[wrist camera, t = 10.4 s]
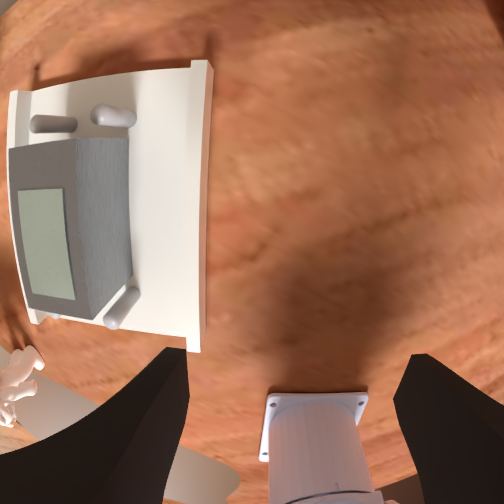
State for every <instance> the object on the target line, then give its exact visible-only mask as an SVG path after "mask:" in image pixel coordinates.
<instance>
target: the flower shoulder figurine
mask: <svg viewBox="0 0 504 504" xmlns="http://www.w3.org/2000/svg"><path fill="white" fill-rule="evenodd" d="M44 366H45V363H44V361H43V359H42V357H41V356H40V354H39V353H38V352H37V350H36V349H35V348H34V347H33V346H30V345H29V346H27V347H26V348H25V349H24V350H23V351H21V350H20V349H16V350H15V351H14V352H13V353H12V355H11V357H10V360H9V363H8V366H7V367H5V368H4V369H2V370H0V425H3V426H8V427H13V425H11V424H8V423H11V421H12V420H14V421H16V419H17V416H16V415H15V404H14V402H12V401H15V400H18V399H20V398H21V397H24V396H33V395H35V394H36V392H37V382H35V380H34V379H33V380H31V381H29V382H23V381H24V380H25V379H26V378H27V377H28V376H29V375H30V374H31V371H32V369H33V367H35V368H37V369H38V370H41V369H43V367H44ZM8 404H9V405H10V406H11V407H12V409H13V415H11V413H10V411H9V410H8V409H7V408H6V406H7V405H8ZM13 418H14V419H13Z"/></svg>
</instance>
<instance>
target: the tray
mask: <svg viewBox="0 0 504 504" xmlns="http://www.w3.org/2000/svg"><path fill="white" fill-rule="evenodd" d="M213 80H214V70H213V68H212V66H211V65H210V63H209V61H208V60H191V68H174V69H159V70H147V71H137V72H129V73H121V74H114V75H107V76H100V77H94V78H89V79H83V80H78V81H73V82H69V83H64V84H59V85H55V86H51V87H47V88H43V89H39V90H35V91H26V90H15V91H12V92H10V99H9V110H8V126H7V185H8V200H9V212H10V221H11V230H12V237H13V244H14V251H15V257H16V262H17V268H18V273H19V278H20V282H21V287H22V291H23V296H24V300H25V304H26V308H27V311H28V315H29V319H30V322H31V323H33V324H37V325H39V324H40V323H41V322H42V321H43V320H44V319H45V318H46V317H47V316H48V315H50V316H51V317H52V318H54V319H58V318H59V317H60V318H65V319H70V320H75V321H80V322H86V323H91V324H97V325H103V326H106V327H107V328H109V329H111V330H116V329H117V328H121V329H128V330H134V331H142V332H149V333H156V334H164V335H173V336H181V337H186V340H187V351H189V352H198V353H200V352H201V348H202V344H203V341H204V337H205V334H206V219H207V187H208V162H209V142H210V124H211V108H212V94H213ZM73 138H118V139H129V214H130V235H131V251H132V264H133V276H132V277H131V278H130V279H129V280H128V281H127V282H126V283H125V284H124V286H123V287H122V288H121V289H120V290H119V291H118V292H117V293H116V294H115V296H114V297H113V298H112V299H111V300H110V301H109V302H108V303H107V305H106V306H105V307H104V308H103V309H102V310H101V311H100V312H99V314H98V315H97V316H96V317H95V318H94V319H93V320H87V319H82V318H76V317H71V316H65V315H60V314H55V313H50V312H45V311H40V310H36V309H31V308H29V307H28V303H27V299H26V295H25V291H24V287H23V282H22V277H21V273H20V267H19V262H18V257H17V251H16V244H15V238H14V230H13V222H12V213H11V202H10V188H9V155H8V152H9V148H14V147H19V146H25V145H31V144H37V143H44V142H50V141H58V140H65V139H73Z"/></svg>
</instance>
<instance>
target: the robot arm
mask: <svg viewBox="0 0 504 504" xmlns="http://www.w3.org/2000/svg"><path fill="white" fill-rule="evenodd" d="M189 398H190V394H189V383H188V370H187V357H186V349H179V348H171V347H166V348H165V349H163V350H162V351H161V352H160V353H159V354H158V355H157V356H156V357H155V358H154V359H153V360H152V361H151V362H150V363H149V364H148V365H147V366H146V367H145V368H144V369H143V370H142V371H141V372H140V373H139V374H138V375H137V376H136V377H134V378H133V379H132V380H131V381H130V382H129V383H128V384H127V385H126V386H125V387H123V388H122V389H121V390H120V391H119V392H117V393H116V394H115V395H114V396H112V397H111V398H110V399H109V400H107V401H106V402H105V403H104V404H102V405H101V406H100V407H98V408H97V409H96V410H94V411H93V412H91V413H90V414H88V415H87V416H85V417H84V418H82V419H81V420H79V421H78V422H76V423H74V424H73V425H71V426H69V427H67V428H66V429H63V430H62V431H60V432H58V433H56V434H54V435H52V436H50V437H48V438H46V439H44V440H41V441H39V442H36V443H34V444H31V445H29V446H26V447H24V448H21V449H18V450H15V451H12V452H8V453H5V454H1V455H0V504H162V501H163V496H164V490H165V486H166V482H167V479H168V475H169V472H170V469H171V466H172V463H173V460H174V456H175V453H176V450H177V447H178V444H179V441H180V437H181V434H182V431H183V428H184V425H185V420H186V415H187V409H188V403H189ZM368 399H369V396H368V394H367V393H366V392H352V393H321V394H292V393H271V394H269V395H268V397H267V402H266V410H265V417H264V424H263V431H262V438H261V444H260V451H259V460H260V461H263V462H269V504H398V503H397V502H395V501H394V500H388V501H385V502H384V501H383V497H382V494H381V491H376V492H375V490H374V487H373V483H372V479H371V475H370V471H369V468H368V464H367V460H366V457H365V453H364V450H363V446H362V443H361V439H360V436H359V432H358V429H357V425H358V422H359V420H360V418H361V415H362V413H363V411H364V408H365V406H366V403H367V401H368ZM393 400H394V405H395V409H396V414H397V418H398V421H399V425H400V427H401V430H402V433H403V435H404V438H405V440H406V443H407V446H408V448H409V451H410V453H411V456H412V459H413V461H414V464H415V466H416V469H417V472H418V475H419V478H420V482H421V486H422V491H423V496H424V501H425V504H504V405H502V404H500V403H499V402H497V401H495V400H494V399H492V398H491V397H489V396H488V395H486V394H484V393H483V392H481V391H480V390H478V389H477V388H476V387H474V386H473V385H471V384H470V383H469V382H467V381H466V380H464V379H463V378H462V377H460V376H459V375H457V374H456V373H455V372H453V371H452V370H450V369H449V368H448V367H446V366H445V365H443V364H442V363H441V362H439V361H438V360H436V359H435V358H433V357H431V356H430V355H428V354H414V355H411V358H410V360H409V363H408V365H407V368H406V370H405V373H404V375H403V377H402V380H401V382H400V384H399V387H398V389H397V391H396V394H395V396H394V398H393ZM361 401H362V402H361ZM271 403H275V404H271Z"/></svg>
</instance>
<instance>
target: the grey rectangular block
mask: <svg viewBox="0 0 504 504" xmlns="http://www.w3.org/2000/svg"><path fill="white" fill-rule="evenodd" d="M8 155H9V188H10V202H11V213H12V222H13V230H14V238H15V244H16V251H17V257H18V262H19V267H20V273H21V277H22V282H23V287H24V291H25V295H26V299H27V303H28V307H29V308H31V309H36V310H40V311H45V312H50V313H55V314H60V315H65V316H71V317H76V318H82V319H87V320H93V319H94V318H95V317H96V316H97V315H98V314H99V312H100V311H101V310H102V309H103V308H104V307H105V306H106V305H107V303H108V302H109V301H110V300H111V299H112V298H113V297H114V296H115V294H116V293H117V292H118V291H119V290H120V289H121V288H122V287H123V286H124V284H125V283H126V282H127V281H128V280H129V279H130V278H131V277H132V276H133V264H132V251H131V235H130V214H129V139H118V138H73V139H65V140H58V141H50V142H44V143H37V144H31V145H25V146H19V147H14V148H9V152H8Z"/></svg>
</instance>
